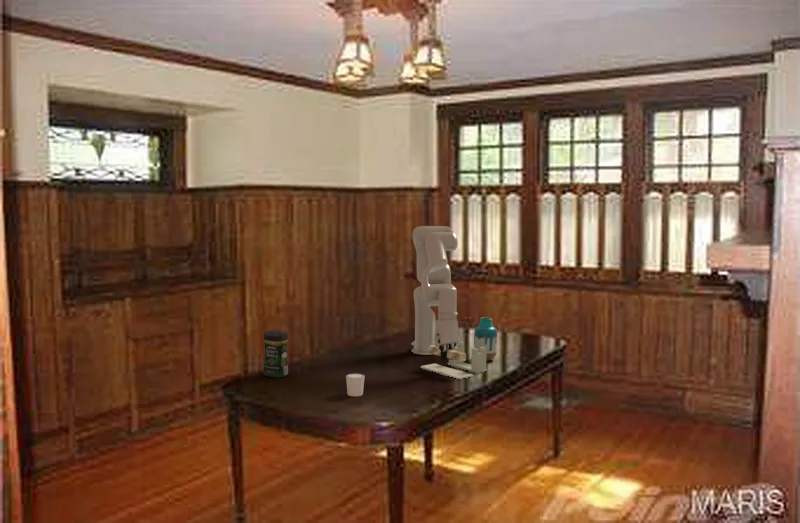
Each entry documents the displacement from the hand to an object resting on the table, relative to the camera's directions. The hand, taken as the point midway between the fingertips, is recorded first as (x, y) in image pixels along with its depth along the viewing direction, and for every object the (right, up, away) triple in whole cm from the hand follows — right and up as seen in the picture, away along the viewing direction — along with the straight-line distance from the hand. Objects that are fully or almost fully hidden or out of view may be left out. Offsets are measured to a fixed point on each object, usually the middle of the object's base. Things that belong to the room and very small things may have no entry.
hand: (446, 359), depth 288 cm
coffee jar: (-70, -6, -7) cm, 71 cm away
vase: (+19, -4, +23) cm, 30 cm away
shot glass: (-36, -8, -33) cm, 49 cm away
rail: (0, +1, 0) cm, 1 cm away
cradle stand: (+9, -5, +8) cm, 13 cm away
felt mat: (0, -5, +1) cm, 6 cm away
